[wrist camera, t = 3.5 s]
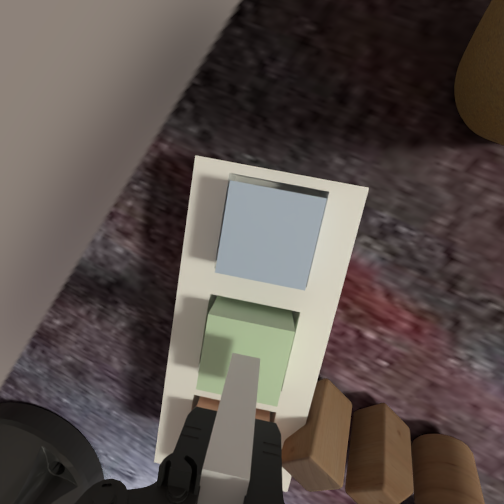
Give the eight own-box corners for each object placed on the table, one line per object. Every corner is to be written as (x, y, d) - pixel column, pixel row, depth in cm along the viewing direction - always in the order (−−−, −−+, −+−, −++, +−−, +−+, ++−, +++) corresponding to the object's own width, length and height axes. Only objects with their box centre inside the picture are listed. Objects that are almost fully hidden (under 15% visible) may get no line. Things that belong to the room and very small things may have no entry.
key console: (172, 420, 25) (154, 462, 22) (210, 161, 21) (195, 155, 17) (285, 444, 25) (287, 492, 21) (350, 188, 20) (369, 187, 16)
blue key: (225, 257, 19) (214, 272, 16) (238, 181, 18) (230, 180, 15) (299, 272, 19) (304, 290, 16) (317, 196, 18) (326, 198, 15)
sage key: (208, 356, 21) (195, 389, 18) (219, 292, 20) (208, 314, 17) (276, 371, 21) (277, 406, 17) (291, 307, 20) (295, 331, 16)
